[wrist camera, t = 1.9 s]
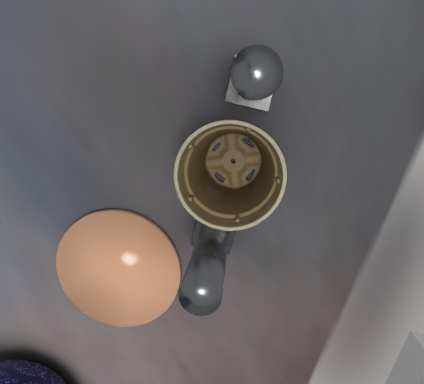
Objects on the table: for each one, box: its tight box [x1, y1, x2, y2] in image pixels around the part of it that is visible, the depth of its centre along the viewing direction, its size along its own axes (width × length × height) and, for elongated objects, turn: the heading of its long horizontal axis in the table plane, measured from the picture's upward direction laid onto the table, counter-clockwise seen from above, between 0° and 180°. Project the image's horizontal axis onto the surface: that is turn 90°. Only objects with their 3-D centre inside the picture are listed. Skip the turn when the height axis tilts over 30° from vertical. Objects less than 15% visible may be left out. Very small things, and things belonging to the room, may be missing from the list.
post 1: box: [179, 220, 235, 316], centre depth 32 cm, size 4×4×14 cm
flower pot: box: [174, 120, 287, 231], centre depth 32 cm, size 9×9×9 cm
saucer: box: [56, 209, 181, 327], centre depth 41 cm, size 15×15×1 cm
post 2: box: [225, 45, 283, 111], centre depth 27 cm, size 4×4×14 cm
